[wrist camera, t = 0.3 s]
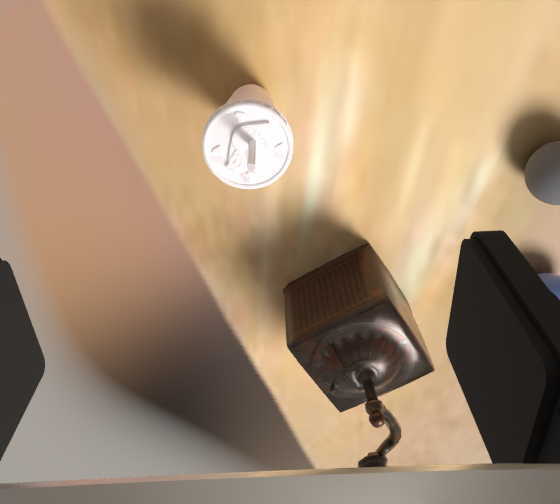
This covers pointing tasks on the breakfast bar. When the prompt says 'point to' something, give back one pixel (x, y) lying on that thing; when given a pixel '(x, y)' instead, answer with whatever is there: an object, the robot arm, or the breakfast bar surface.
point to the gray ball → (545, 173)
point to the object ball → (551, 282)
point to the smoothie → (248, 140)
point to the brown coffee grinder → (356, 337)
